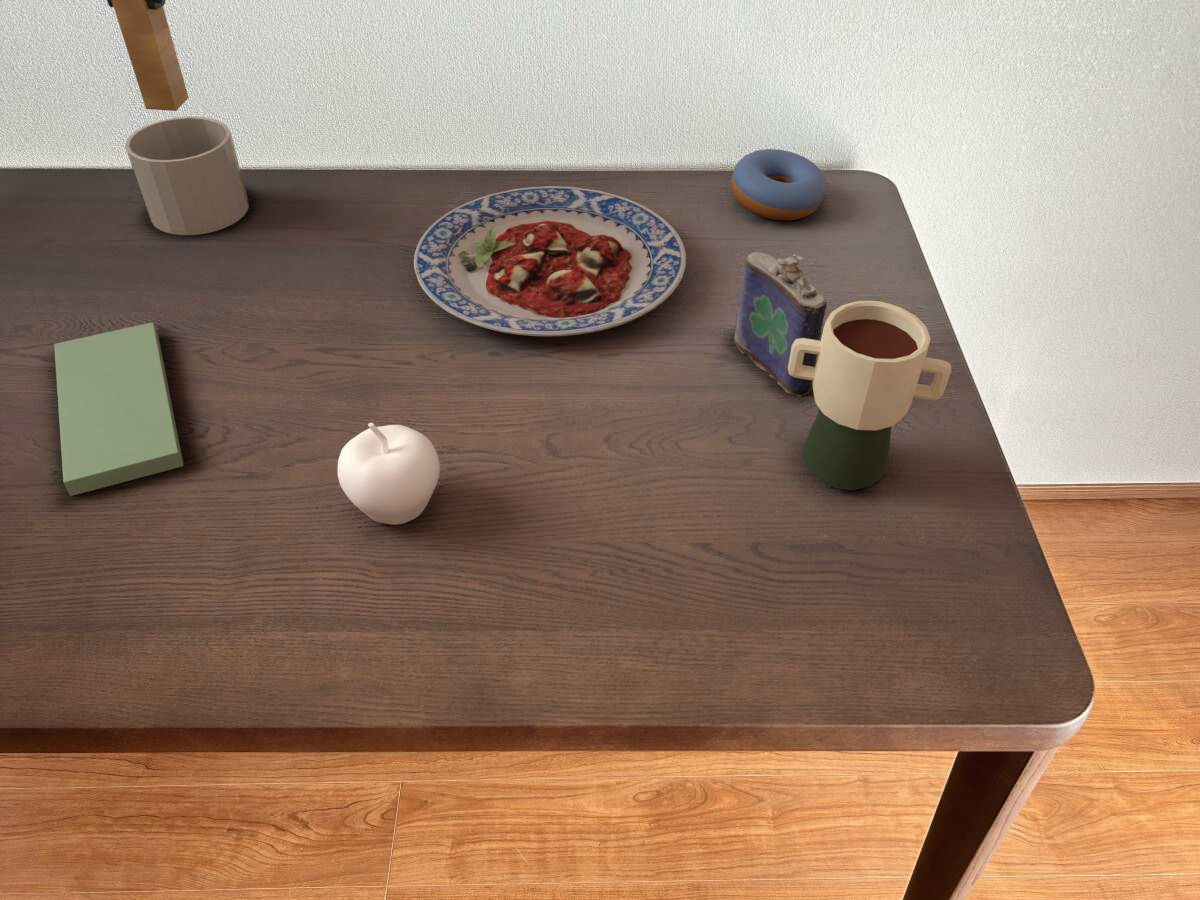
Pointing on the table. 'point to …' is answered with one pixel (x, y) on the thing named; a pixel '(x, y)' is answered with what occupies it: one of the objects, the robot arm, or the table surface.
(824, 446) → the character mug
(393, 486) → the apple
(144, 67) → the stick
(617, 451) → the table surface
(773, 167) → the doughnut
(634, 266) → the ceramic plate
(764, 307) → the flask
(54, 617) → the table surface
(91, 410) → the green rectangular block
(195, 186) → the tin
